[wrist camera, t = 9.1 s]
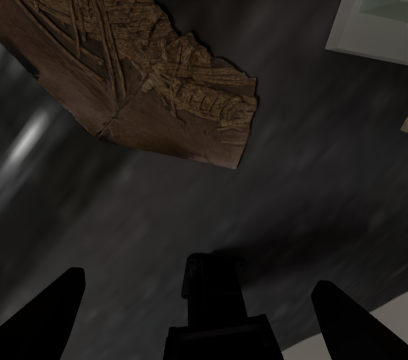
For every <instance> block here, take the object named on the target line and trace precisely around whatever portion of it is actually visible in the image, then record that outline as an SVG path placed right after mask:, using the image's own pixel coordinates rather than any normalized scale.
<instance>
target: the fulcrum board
mask: <svg viewBox="0 0 408 360" xmlns="http://www.w3.org/2000/svg"><path fill="white" fill-rule="evenodd" d="M325 49H327V50H332V51H337V52H342V53H347V54H352V55H357V56H362V57H367V58H373V59H378V60H383V61H388V62H393V63H398V64H403V65H408V0H341V3H340V6H339V9H338V12H337V15H336V18H335V20H334V23H333V26H332V29H331V32H330V35H329V38H328V41H327V44H326V47H325Z"/></svg>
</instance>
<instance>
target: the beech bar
mask: <svg viewBox="0 0 408 360" xmlns="http://www.w3.org/2000/svg"><path fill="white" fill-rule="evenodd" d="M400 130H401V131H404V132H407V133H408V117H407V119H406V120H405V122H404V124H403V126H402V128H401V129H400Z"/></svg>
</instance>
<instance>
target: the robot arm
mask: <svg viewBox="0 0 408 360" xmlns="http://www.w3.org/2000/svg"><path fill="white" fill-rule="evenodd" d="M241 263H242V264H241ZM246 265H247V263H246V261H245V260H244V259H237V258H220V257H202V256H189V257H188V258H187V262H186V268H185V274H184V280H183V286H182V292H181V297H182V298H183V299H188V326H185V327H178V328H176V327H170V328H169V333H168V337H167V338H166V344H165V350H164V356H163V360H284V358H283V355H282V353H281V350H280V348H279V346H278V343H277V341H276V338H275V336H274V333H273V331H272V329H271V326H270V324H269V321H268V319H267V316H266V314H261V315H259V316H255V317H248V316H247V312H246V308H245V303H244V299H243V295H242V291H241V287H240V283H241V280H242V277H243V274H244V271H245V268H246ZM85 285H86V283H85V273H84V269H83V268H77V267H72V268H69V269H68V270H67V271H66V272H64V273H63V274H62V275H61V276H60V277H59V278H57V279H56V280H55V281H54V282H53V283H51V284H50V285H49V286H48V287H47V288H45V289H44V290H43V291H42V292H41V293H39V294H38V295H37V296H36V297H35V298H34V299H32V300H31V301H30V302H29V303H28V304H26V305H25V306H24V307H23V308H22V309H20V310H19V311H18V312H17V313H16V314H14V315H13V316H12V317H11V318H10V319H9V320H7V321H6V322H5V323H4V324H3V325H1V326H0V360H60V358H61V356H62V353H63V351H64V349H65V346H66V344H67V342H68V339H69V337H70V334H71V331H72V328H73V325H74V321H75V318H76V315H77V312H78V309H79V306H80V303H81V300H82V297H83V294H84V290H85ZM311 298H312V302H313V306H314V309H315V312H316V315H317V319H318V322H319V325H320V328H321V332H322V335H323V338H324V341H325V343H326V346H327V349H328V351H329V354H330V356H331V359H332V360H408V345H407V344H406V343H405V342H404V341H403V340H402V339H400V338H399V337H398V336H397V335H395V334H394V333H393V332H392V331H391V330H389V329H388V328H387V327H386V326H384V325H383V324H382V323H381V322H379V321H378V320H377V319H376V318H374V317H373V316H372V315H371V314H370V313H369V312H367V311H366V310H365V309H364V308H362V307H361V306H360V305H359V304H358V303H356V302H355V301H354V300H353V299H352V298H350V297H349V296H348V295H347V294H345V293H344V292H343V291H342V290H341V289H339V288H338V287H337V286H336V285H334V284H333V283H332V282H330V281H325V280H320V281H318V283H317V285H316V286H315V288H314V290H313V292H312V294H311Z"/></svg>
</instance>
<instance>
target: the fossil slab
mask: <svg viewBox="0 0 408 360" xmlns="http://www.w3.org/2000/svg"><path fill="white" fill-rule="evenodd" d="M0 43H1V44H2V45H3V46H4V47H5V48H6V49H7V50H8V51H9V52H10V53H11V54H12V55H13V56H14V57H15V58H16V59H17V60H18V61H19V62H20V63H21V64H22V66H24V67H25V68H26V70H27V71H28V72H29V73H30V74H31V75H32V76H33V77H34V78H35V79H36V80H37V81H38V82H39V83H40V84H41V85H42V86H43V87H44V88H45V89H46V90H47V91H48V92H49V93H50V94H51V95H52V96H53V97H54V98H55V99H56V100H57V101H59V103H60V104H61V105H62V106H63V107H64V108H66V109H67V110H69V112H70V113H72V114H73V116H75V117H76V118H75V119H76V120H77V121H78V122H79V123H80V124H81V125H82V126H83V127H84V128H85V129H86V130H87V131H88V132H89V133H91V134H92V135H94V136H95V137H96V134H97V133H99V132H100V131H102V133H101V134H98V135H99V136H97V139H98V140H100V141H103V142H107V143H111V144H112V143H113V144H116V145H121V146H126V147H131V148H136V149H140V150H145V151H152V152H156V153H161V154H165V155H171V156H175V157H180V158H183V159H190V160H197V161H199V162H206V163H208V164H214V165H218V166H223V167H227V168H232V169H237V165H238V163H239V160H240V157H241V155H242V152H243V150H244V148H245V146H246V144H247V142H248V140H249V138H250V121H251V119H252V115H253V114H254V111H255V110H256V106H257V100H256V98H255V97H254V90H255V84H256V78H249V77H248V76H247V75H246V74H245V72H240V71H239V70H236V69H235V68H234V67H233V66H232V65H231V64H230V63H228V62H226V61H225V60H222V59H220V58H213V57H212V56H211V54H210V53H209V52H207V50H206V48H205V47H204V46H202V45H201V44H200V43H199V42H198V41H197V39H196V38H195V36H194V35H193V33H192V32H191V31H189V32H187V33H186V34H184V35H183V36H181V37H179V36H178V35H177V33H176V31H175V29H174V28H173V27H172V26H171V23H170V21H169V19H168V16H167V15H166V14H165V12H164V11H163V10H161V8H160V6H159V5H157V4H155V0H0Z"/></svg>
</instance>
